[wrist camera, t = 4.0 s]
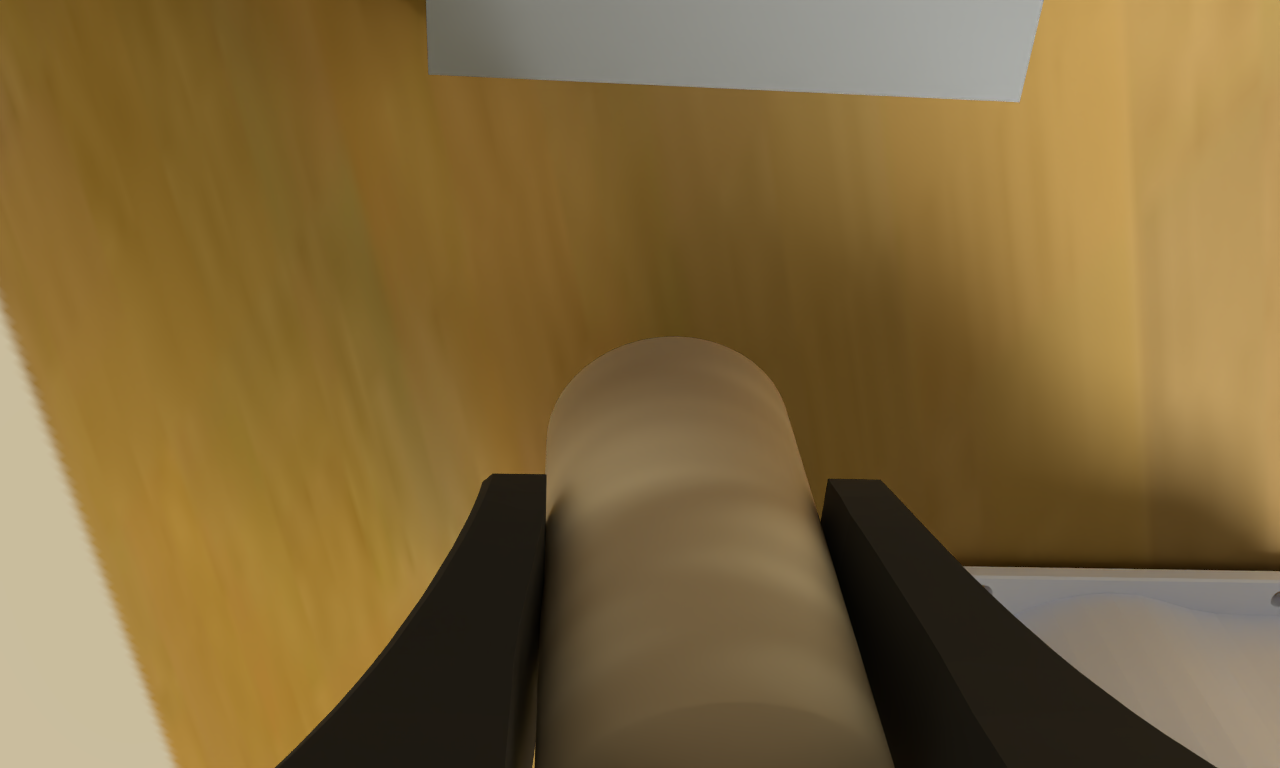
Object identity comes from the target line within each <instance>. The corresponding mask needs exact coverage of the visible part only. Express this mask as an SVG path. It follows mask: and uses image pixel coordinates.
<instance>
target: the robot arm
mask: <svg viewBox="0 0 1280 768" xmlns="http://www.w3.org/2000/svg"><path fill="white" fill-rule="evenodd" d="M546 486H547V475H546V474H492V475H491V476H489V477H488V478H487V479H486V480H484V481H483V483H482V486H481V489H480V492H479V494H478V497H477V499H476V501H475V504H474V506H473V508H472V511H471V513H470V515H469V517H468V519H467V521H466V523H465V525H464V527H463V529H462V531H461V532H460V534H459V536H458V538H457V540H456V542H455V544H454V545H453V547H452V549H451V551H450V552H449V554H448V556H447V557H446V559H445V560H444V562H443V564H442V565H441V567H440V569H439V570H438V572H437V574H436V575H435V577H434V578H433V580H432V582H431V583H430V585H429V587H428V588H427V590H426V591H425V593H424V594H423V596H422V597H421V599H420V600H419V602H418V603H417V604H416V606H415V607H414V609H413V610H412V611H411V613H410V614H409V616H408V617H407V618H406V620H405V621H404V623H403V624H402V625H401V627H400V628H399V630H398V631H397V632H396V634H395V635H394V637H393V638H392V639H391V641H390V642H389V643H388V645H387V646H386V647H385V649H384V650H383V651H382V652H381V654H380V655H379V656H378V657H377V659H376V660H375V661H374V663H373V664H372V665H371V666H370V667H369V669H368V670H367V671H366V672H365V674H364V675H363V676H362V677H361V678H360V680H359V681H358V682H357V683H356V684H355V685H354V686H353V687H352V689H351V690H350V691H349V692H348V693H347V694H346V695H345V697H344V698H343V699H342V700H341V701H340V702H339V703H338V705H337V706H336V707H335V708H334V709H333V710H332V711H331V712H330V713H329V714H328V715H327V716H326V717H325V718H324V719H323V720H322V721H321V722H320V723H319V724H318V725H317V726H316V728H315V729H314V730H313V731H312V732H311V733H310V734H309V735H308V736H307V737H306V738H305V739H304V740H303V741H302V742H301V743H300V744H299V745H298V746H297V747H296V748H295V749H294V750H293V751H292V752H291V753H290V754H289V755H288V756H287V757H286V758H285V759H284V760H283V761H282V762H280V763H279V764H278V765H277V766H276V767H275V768H532V765H533V757H534V750H535V742H536V717H537V690H538V662H539V634H540V617H541V604H542V595H543V586H544V565H545V536H546ZM821 526H822V529H823V532H824V536H825V539H826V542H827V546H828V549H829V552H830V555H831V559H832V562H833V565H834V569H835V572H836V575H837V579H838V582H839V585H840V589H841V592H842V595H843V598H844V602H845V605H846V608H847V612H848V615H849V618H850V622H851V625H852V628H853V631H854V635H855V638H856V641H857V645H858V648H859V651H860V655H861V658H862V661H863V664H864V668H865V671H866V674H867V678H868V681H869V684H870V688H871V691H872V694H873V697H874V701H875V704H876V707H877V711H878V714H879V717H880V721H881V724H882V727H883V730H884V734H885V737H886V740H887V744H888V747H889V750H890V754H891V757H892V760H893V763H894V767H895V768H1280V592H1279V591H1280V571H1231V570H1168V569H1104V568H1040V567H977V566H962V565H961V564H960V563H959V562H958V561H957V560H956V559H955V558H954V557H953V556H952V555H951V554H950V553H949V552H948V551H947V550H946V549H945V548H944V546H943V545H942V544H941V543H940V542H939V541H938V540H937V539H936V538H935V537H934V536H933V535H932V534H931V533H930V532H929V531H928V530H927V529H926V528H925V526H924V525H923V524H922V523H921V522H920V521H919V520H918V519H917V518H916V517H915V516H914V515H913V514H912V513H911V512H910V510H909V509H908V508H907V507H906V506H905V505H904V504H903V503H902V502H901V501H900V500H899V499H898V498H897V497H896V495H895V494H894V493H893V492H892V491H891V490H890V489H889V488H888V487H887V486H886V485H885V484H884V483H883V482H882V481H881V480H865V479H828V483H827V488H826V494H825V500H824V506H823V511H822V517H821ZM982 585H985V586H984V587H983V586H982ZM1277 592H1279V593H1277ZM1276 593H1277V594H1276ZM1274 594H1276V595H1274Z"/></svg>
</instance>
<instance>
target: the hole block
mask: <svg viewBox="0 0 1280 768" xmlns="http://www.w3.org/2000/svg"><path fill="white" fill-rule="evenodd" d="M1043 1H1044V0H426V18H427V46H428V74H429V75H450V76H471V77H492V78H514V79H535V80H557V81H578V82H599V83H621V84H642V85H664V86H685V87H706V88H728V89H749V90H771V91H792V92H813V93H835V94H856V95H878V96H899V97H920V98H942V99H963V100H985V101H1006V102H1020V98H1021V94H1022V89H1023V85H1024V81H1025V77H1026V72H1027V68H1028V64H1029V60H1030V55H1031V51H1032V47H1033V43H1034V39H1035V34H1036V30H1037V26H1038V22H1039V17H1040V13H1041V9H1042V5H1043Z"/></svg>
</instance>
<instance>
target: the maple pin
mask: <svg viewBox="0 0 1280 768" xmlns="http://www.w3.org/2000/svg"><path fill="white" fill-rule="evenodd" d="M545 474H546V475H547V486H546V536H545V565H544V586H543V595H542V604H541V617H540V634H539V662H538V690H537V717H536V745H535V768H895V767H894V763H893V760H892V757H891V754H890V750H889V747H888V744H887V740H886V737H885V734H884V730H883V727H882V724H881V721H880V717H879V714H878V711H877V707H876V704H875V701H874V697H873V694H872V691H871V688H870V684H869V681H868V678H867V674H866V671H865V668H864V664H863V661H862V658H861V655H860V651H859V648H858V645H857V641H856V638H855V635H854V631H853V628H852V625H851V622H850V618H849V615H848V612H847V608H846V605H845V602H844V598H843V595H842V592H841V589H840V585H839V582H838V579H837V575H836V572H835V569H834V565H833V562H832V559H831V555H830V552H829V549H828V546H827V542H826V539H825V536H824V532H823V529H822V526H821V522H820V519H819V516H818V513H817V509H816V506H815V503H814V499H813V496H812V493H811V489H810V486H809V483H808V480H807V476H806V473H805V470H804V466H803V463H802V460H801V456H800V453H799V450H798V447H797V443H796V440H795V437H794V433H793V430H792V427H791V423H790V420H789V417H788V414H787V410H786V407H785V404H784V402H783V400H782V397H781V395H780V393H779V391H778V390H777V388H776V387H775V385H774V383H773V382H772V381H771V379H770V378H769V377H768V376H767V375H766V374H765V372H764V371H763V370H762V369H760V368H759V367H758V366H757V365H756V364H755V363H754V362H752V361H751V360H749V359H748V358H746V357H745V356H743V355H742V354H740V353H739V352H737V351H734V350H732V349H730V348H728V347H726V346H723V345H720V344H717V343H714V342H711V341H708V340H703V339H698V338H691V337H679V336H673V337H657V338H650V339H643V340H640V341H636V342H632V343H629V344H626V345H623V346H621V347H618V348H616V349H613V350H611V351H609V352H607V353H606V354H604V355H602V356H600V357H598V358H597V359H595V360H594V361H593V362H591V363H590V364H588V365H587V366H586V367H584V368H583V369H582V370H581V371H580V372H579V373H578V374H577V375H576V376H575V377H574V378H573V379H572V380H571V381H570V383H569V384H568V385H567V386H566V388H565V389H564V390H563V392H562V393H561V395H560V397H559V398H558V400H557V402H556V404H555V406H554V409H553V411H552V414H551V417H550V421H549V425H548V430H547V441H546V468H545Z"/></svg>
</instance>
